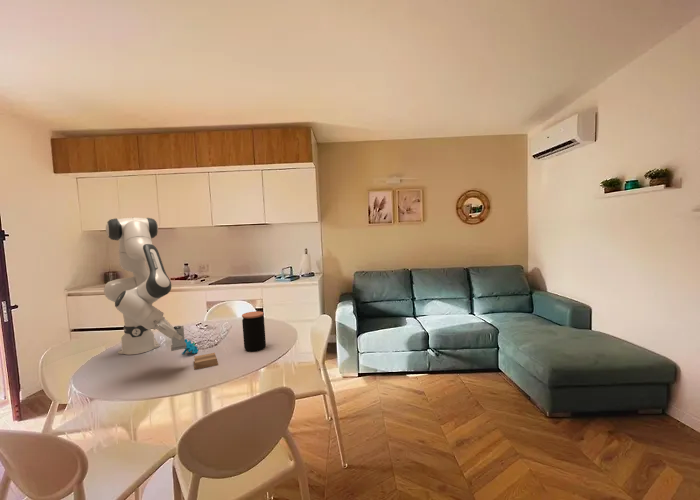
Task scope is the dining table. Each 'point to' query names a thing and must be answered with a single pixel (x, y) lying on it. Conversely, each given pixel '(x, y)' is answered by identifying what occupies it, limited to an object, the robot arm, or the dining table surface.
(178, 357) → the dining table surface
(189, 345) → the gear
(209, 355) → the stand
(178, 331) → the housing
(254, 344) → the coffee jar
